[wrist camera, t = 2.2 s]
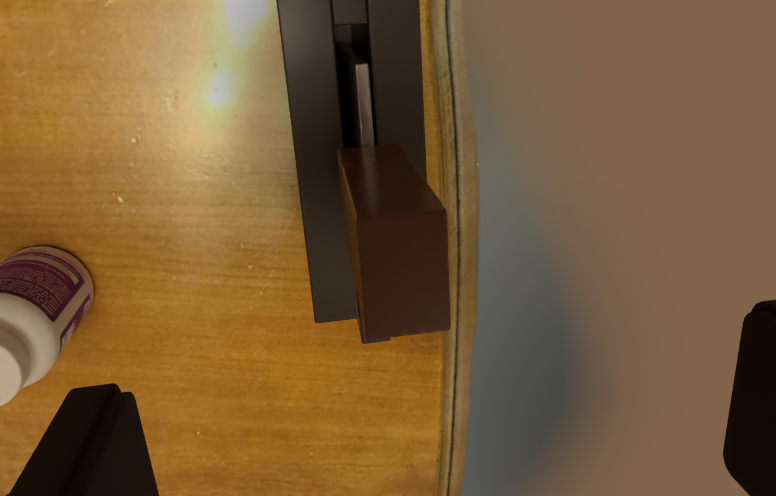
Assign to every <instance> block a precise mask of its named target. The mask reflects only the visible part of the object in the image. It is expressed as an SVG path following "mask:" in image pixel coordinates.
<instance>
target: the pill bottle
mask: <svg viewBox="0 0 776 496" xmlns="http://www.w3.org/2000/svg"><path fill="white" fill-rule="evenodd" d="M93 289H94V287H93V283H92V279H91V277H90V275H89V273H88V271H87V270H86V268H85V267H84V266H83V265H82V264H81V262H80V261H79V260H77V259H76V258H75V257H73V256H72V255H70V254H68V253H66V252H64V251H62V250H59V249H56V248H52V247H47V246H40V247H29V248H25V249H22V250H20V251H17V252H16V253H14V254H12V255H11V256H10V257H8V258H7V259H6V260H5V261H4V262H3V263H2V264H1V265H0V406H2V405H4V404H6V403H7V402H9V401H10V400H11V399H12V398H13V397H14V396H15V395H16V394H17V393H18V391H19V390H20V389H21V388H23V387H26V386H29V385H31V384H33V383H35V382H36V381H38V380H39V379H41V378H42V377H43V376H44V375H45V374H46V373H47V372H48V371H49V370H50V369H51V368H52V366H53V365H54V364H55V362H56V360H57V359H58V357H59V356H60V354H61V352H62V351H63V349H64V348H65V346H66V344H67V343H68V342H69V340H70V338H71V337H72V335H73V334H74V332H75V331H76V329H77V327H78V326H79V324H80V322H81V321H82V319H83V318H84V316H85V315H86V313H87V311H88V309H89V308H90V306H91V303H92V299H93Z"/></svg>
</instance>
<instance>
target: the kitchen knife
mask: <svg viewBox="0 0 776 496" xmlns="http://www.w3.org/2000/svg"><path fill="white" fill-rule="evenodd" d="M335 52H336V63H337V74H338V85H339V96H340V107H341V118H342V129H343V140H344V148H341V149H337V158H338V169H339V179H340V190H341V201H342V211H343V222H344V232H345V239H346V244H347V249H348V253H349V258H350V263H351V268H352V273H353V277H354V282H355V287H356V292H357V297H358V301H359V306H360V311H361V316H362V321H363V325H364V330H365V335H366V338H367V340H373V339H381V338H389V337H397V336H405V335H413V334H422V333H430V332H438V331H446V330H450V296H449V264H448V231H447V211H446V209H445V208H444V206H443V205H442V203H441V202H440V201H439V199H438V198H437V196H436V195H435V194H434V192H433V191H432V189H431V188H430V187H429V185H428V184H427V182H426V181H425V180H424V178H423V177H422V175H421V174H420V173H419V171H418V170H417V168H416V167H415V166H414V164H413V163H412V161H411V160H410V159H409V157H408V156H407V154H406V153H405V152H404V150H403V149H402V147H401V146H400V145H399V144H398V143H395V144H384V145H374V137H373V124H372V110H371V96H370V82H369V68H368V64H367V63H366V62H365V61H364V60H363V59H362V58H361V57H360V56H358V55H357V54H356V53H355V52H354V51H353V50H352V49H351V48H350V47H348V46H347V45H346V44H345V43H344V42H343V41H340V42H335Z"/></svg>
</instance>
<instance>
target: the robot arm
mask: <svg viewBox="0 0 776 496" xmlns="http://www.w3.org/2000/svg"><path fill="white" fill-rule="evenodd" d="M723 456H724V462H725V465H726V467H727V470H728V471H729V473H730V474H731V476H732V477H733V478H734V479H735V480H736V481H737V482H738V484H739V485H740V486H741V487H742V488H743V489H744V490H745V491H746V492H747V493H748V494H749V495H750V496H776V300H770V301H762V302H760V303H757V304H756V305H755V306H754V308H753V309H752V311H751V312H750V313H748V314H747V315H746V317H745V318H744V321H743V326H742V333H741V340H740V345H739V352H738V359H737V365H736V371H735V378H734V384H733V391H732V397H731V403H730V410H729V417H728V423H727V429H726V436H725V442H724V449H723ZM6 496H159V494H158V490H157V485H156V481H155V477H154V473H153V469H152V465H151V461H150V457H149V453H148V449H147V445H146V441H145V437H144V433H143V429H142V425H141V420H140V416H139V412H138V408H137V404H136V400H135V397H134V395H133V394H132V393H131V392H123V393H121V390H120V389H119V387H118V385H116V384H115V383H113V384H105V385H97V386H89V387H81V388H74V389H71V391H70V392H69V393H68V394H67V396H66V398H65V400H64V401H63V403H62V405H61V406H60V408H59V410H58V411H57V413H56V415H55V417H54V418H53V420H52V422H51V423H50V425H49V427H48V429H47V430H46V432H45V434H44V435H43V437H42V439H41V441H40V442H39V444H38V446H37V447H36V449H35V451H34V452H33V454H32V456H31V458H30V459H29V461H28V463H27V464H26V466H25V468H24V470H23V471H22V473H21V475H20V476H19V478H18V480H17V482H16V483H15V485H14V487H13V488H12V490H11V492H10V493H9V494H7V495H6Z"/></svg>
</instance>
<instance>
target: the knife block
mask: <svg viewBox="0 0 776 496" xmlns="http://www.w3.org/2000/svg"><path fill="white" fill-rule="evenodd" d="M276 1H277V10H278V18H279V26H280V35H281V43H282V51H283V60H284V68H285V76H286V85H287V93H288V102H289V110H290V118H291V127H292V135H293V143H294V152H295V160H296V168H297V177H298V185H299V193H300V202H301V210H302V218H303V227H304V235H305V243H306V252H307V260H308V268H309V277H310V285H311V294H312V302H313V310H314V319H315V323H324V322H332V321H340V320H349V319H357V320H358V326H359V331H360V336H361V341H362V343H363V344H366V343H374V342H382V341H389V340H390V337H389V338H381V339H373V340H367V338H366V335H365V330H364V325H363V321H362V316H361V311H360V306H359V301H358V297H357V292H356V287H355V282H354V277H353V273H352V268H351V263H350V258H349V253H348V249H347V244H346V239H345V232H344V222H343V211H342V201H341V190H340V179H339V169H338V158H337V149H341V148H344V140H343V129H342V118H341V107H340V96H339V85H338V74H337V63H336V52H335V42H340V41H343V42H344V43H345V44H346V45H347V46H348V47H350V48H351V49H352V50H353V51H354V52H355V53H356V54H357V55H358V56H360V57H361V58H362V59H363V60H364V61H365V62H366V63H367V64H368V68H369V82H370V96H371V110H372V124H373V137H374V145H384V144H395V143H398V144H399V145H400V146H401V147H402V149H403V150H404V152H405V153H406V154H407V156H408V157H409V159H410V160H411V161H412V163H413V164H414V166H415V167H416V168H417V170H418V171H419V173H420V174H421V175H422V177H423V178H424V180H425V181H426V182H427V175H426V151H425V127H424V104H423V80H422V56H421V32H420V9H419V0H276Z"/></svg>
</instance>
